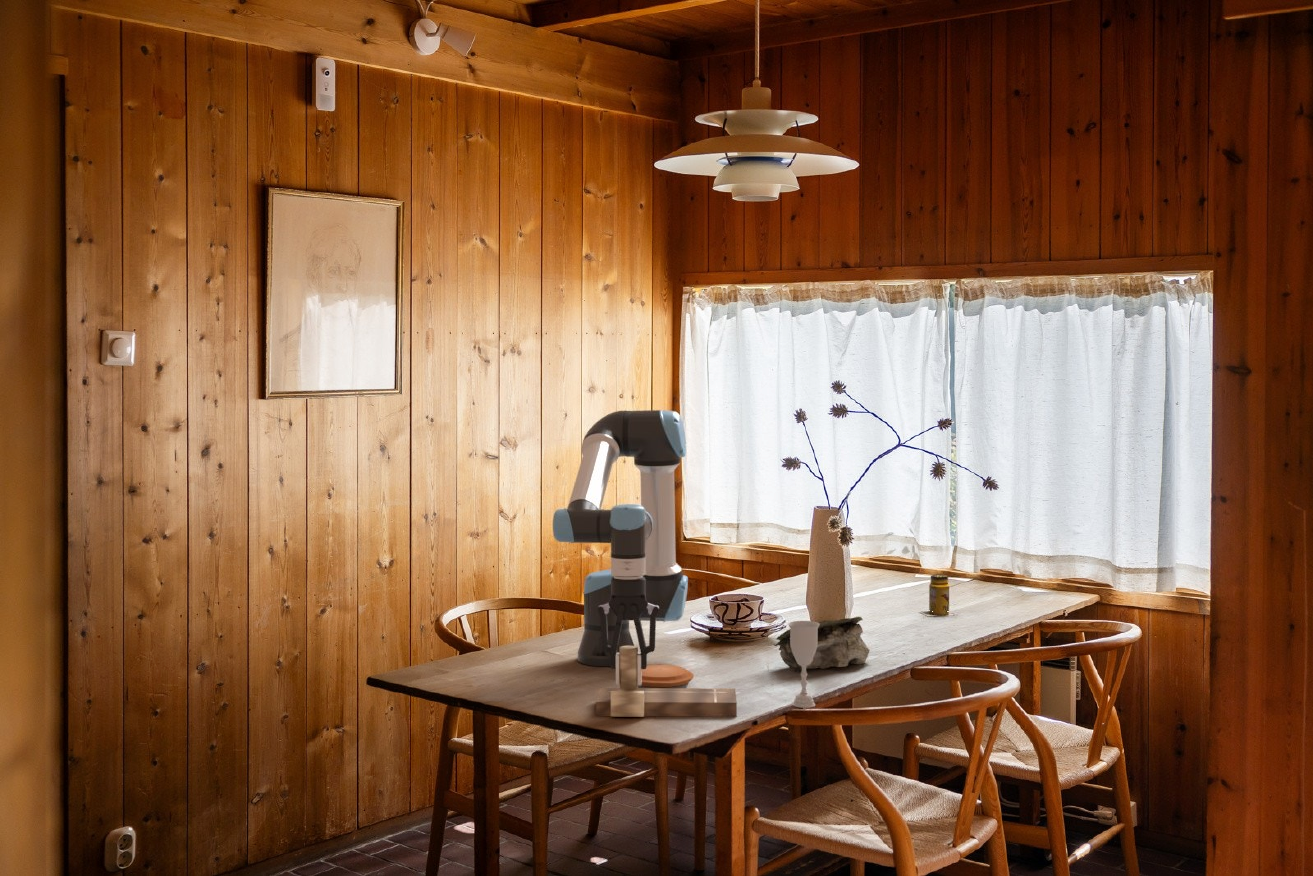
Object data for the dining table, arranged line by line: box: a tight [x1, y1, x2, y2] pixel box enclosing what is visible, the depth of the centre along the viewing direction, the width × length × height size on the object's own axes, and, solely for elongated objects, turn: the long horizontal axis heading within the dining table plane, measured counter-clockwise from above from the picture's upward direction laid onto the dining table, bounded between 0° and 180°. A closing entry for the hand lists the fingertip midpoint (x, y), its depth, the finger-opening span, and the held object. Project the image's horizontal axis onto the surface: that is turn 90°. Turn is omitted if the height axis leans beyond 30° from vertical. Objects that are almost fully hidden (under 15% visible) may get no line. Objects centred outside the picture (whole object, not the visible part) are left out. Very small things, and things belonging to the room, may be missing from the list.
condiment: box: [918, 574, 954, 617], centre depth 373 cm, size 7×8×12 cm
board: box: [595, 687, 738, 718], centre depth 264 cm, size 30×12×3 cm, turn 88°
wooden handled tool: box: [610, 645, 645, 718], centre depth 261 cm, size 7×11×14 cm, turn 178°
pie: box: [638, 664, 695, 688], centre depth 281 cm, size 16×16×5 cm
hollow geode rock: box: [773, 616, 870, 674], centre depth 301 cm, size 28×13×15 cm
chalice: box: [787, 620, 820, 709], centre depth 266 cm, size 7×7×18 cm
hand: (628, 683), depth 261 cm, fingers closed on wooden handled tool, 4 cm apart
